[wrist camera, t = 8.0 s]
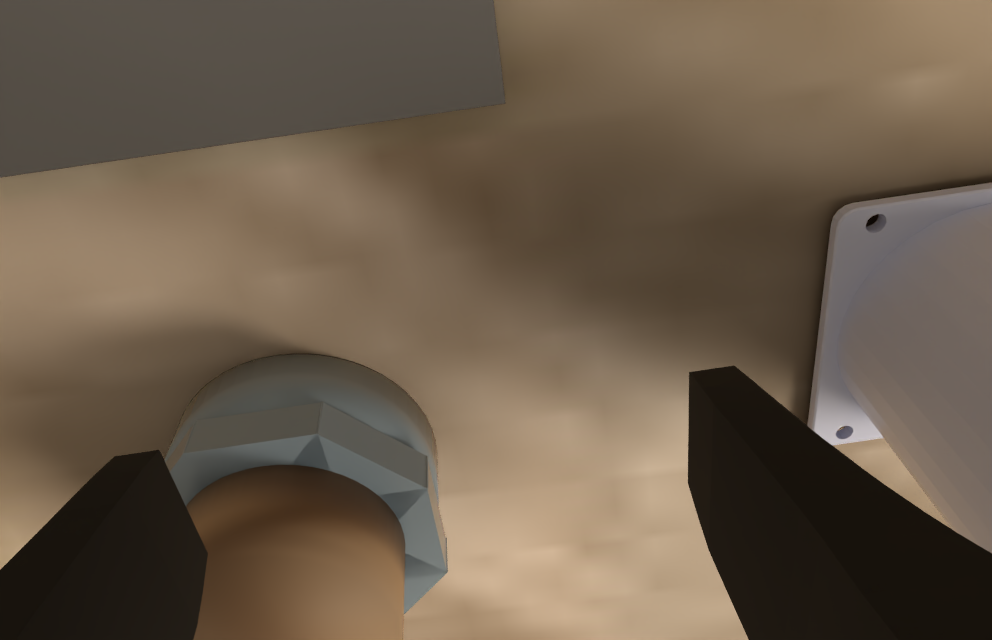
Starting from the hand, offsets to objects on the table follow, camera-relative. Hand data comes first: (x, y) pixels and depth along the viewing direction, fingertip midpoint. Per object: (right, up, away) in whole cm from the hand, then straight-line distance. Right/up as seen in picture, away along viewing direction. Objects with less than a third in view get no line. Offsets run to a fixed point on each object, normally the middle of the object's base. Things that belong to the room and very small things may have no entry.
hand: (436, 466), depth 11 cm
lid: (-4, -4, +10) cm, 11 cm away
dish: (-5, -2, +13) cm, 14 cm away
